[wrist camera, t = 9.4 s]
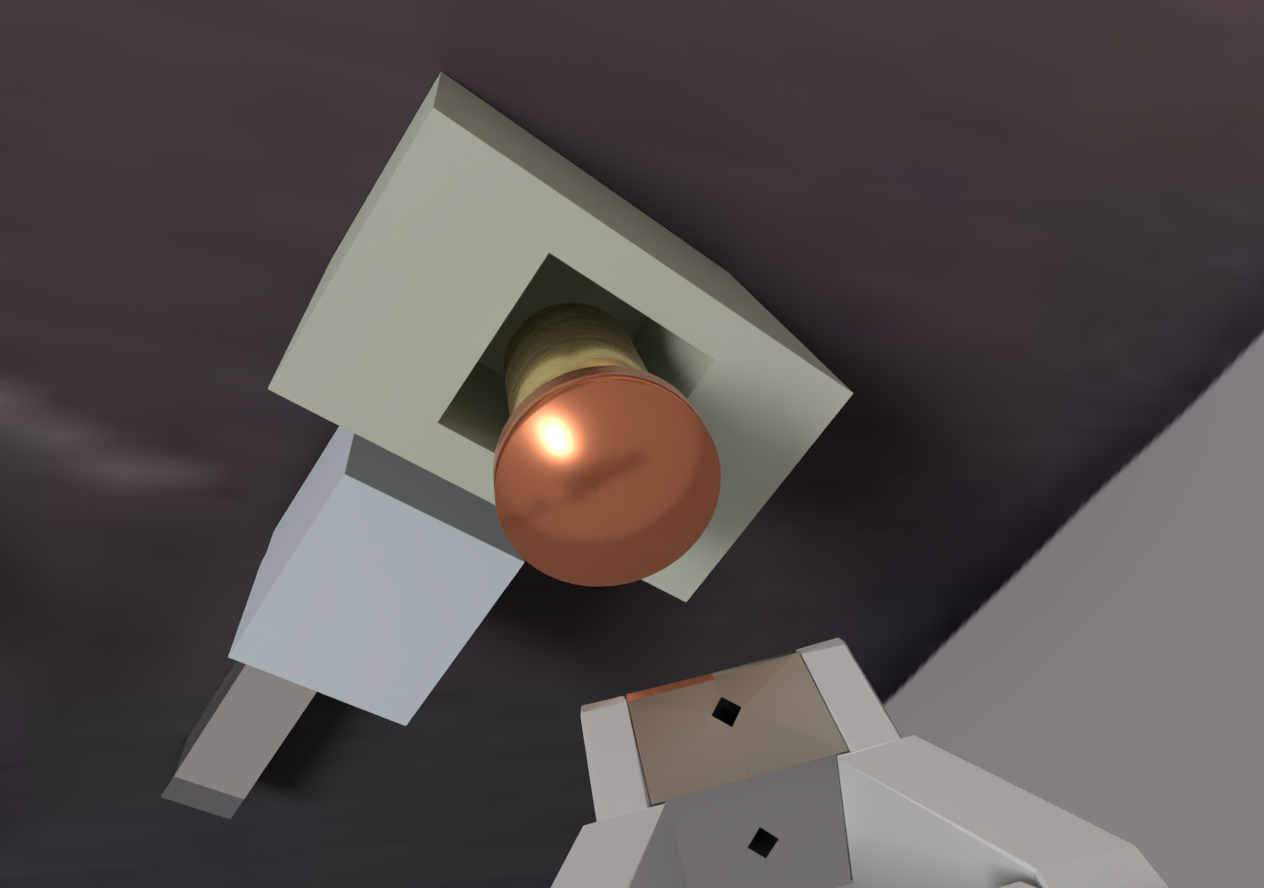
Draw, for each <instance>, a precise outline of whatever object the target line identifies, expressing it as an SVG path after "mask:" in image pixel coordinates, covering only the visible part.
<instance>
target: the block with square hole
mask: <svg viewBox="0 0 1264 888" xmlns="http://www.w3.org/2000/svg"><path fill="white" fill-rule="evenodd" d="M561 303H583V304H587V305H592V306H594V307H597V308H600V309H602V310H603V311H605V312H607V313H608V314H610V315H611V316H613V317H614V318H615V319H616V320H617V321H618V322H619V323H620V324H621V325H622V326H623V328H624V329H625V330H626V332H627V334H628V336H629V337H630V339H631V341H632V343H633V345H634V347H635V349H636V350H637V352H638V354H639V356H640V358H641V360H642V362H643V364H644V366H645V367H646V369H647V371H648V373H651V374H653V375H655V376H657V377H659V378H661V379H663V380H665V381H667V382H668V383H669V384H671V385H672V386H674V387H675V388H676V389H678V390H679V391H680V392H681V393H682V394H683V395H684V396H685V397H686V398H687V399H688V401H689V402H690V403H691V405H692V406H693V407H694V408H695V410H696V412H697V413H698V415H699V417H700V418H701V420H702V422H703V423H704V425H705V427H706V428H707V430H708V432H709V434H710V436H711V437H712V439H713V441H714V444H715V447H716V449H717V452H718V457H719V461H720V468H721V486H720V493H719V498H718V502H717V506H716V508H715V511H714V514H713V516H712V518H711V520H710V522H709V524H708V526H707V528H706V529H705V531H704V532H703V534H702V535H701V536H700V538H699V539H698V540H697V542H696V543H695V544H694V545H693V546H692V547H691V548H690V549H689V550H688V551H687V552H686V553H685V554H684V555H683V556H682V557H680V558H679V559H678V560H677V561H675V562H674V563H672V564H671V565H669V566H668V567H666V568H665V569H663V570H661V571H659V572H657V573H655V574H653V575H651V576H648V577H646V578H644V579H641V580H643V581H645V582H647V583H649V584H651V585H653V586H655V587H657V588H659V589H661V590H663V591H665V592H667V593H669V594H671V595H673V596H675V597H677V598H679V599H681V600H683V601H685V602H687V601H688V599H689V598H690V597H691V596H692V594H693V593H694V592H695V591H696V589H697V588H698V587H699V586H700V584H701V583H702V582H703V581H704V579H705V578H706V577H707V576H708V574H709V573H710V572H711V571H712V569H713V568H714V567H715V566H716V564H717V563H718V562H719V561H720V559H721V558H722V557H723V556H724V554H725V553H726V552H727V551H728V549H729V548H730V547H731V546H732V544H733V543H734V542H735V541H736V539H737V538H738V537H739V536H740V534H741V533H742V532H743V531H744V529H745V528H746V527H747V526H748V524H749V523H750V522H751V521H752V519H753V518H754V517H755V516H756V514H757V513H758V512H759V511H760V509H761V508H762V507H763V506H764V504H765V503H766V502H767V501H768V499H769V498H770V497H771V496H772V494H773V493H774V492H775V491H776V489H777V488H778V487H779V486H780V484H781V483H782V482H783V481H784V479H785V478H786V477H787V476H788V474H789V473H790V472H791V471H792V469H793V468H794V467H795V466H796V464H797V463H798V462H799V461H800V459H801V458H802V457H803V456H804V454H805V453H806V452H807V451H808V449H809V448H810V447H811V446H812V444H813V443H814V442H815V441H816V439H817V438H818V437H819V436H820V434H821V433H822V432H823V431H824V429H825V428H826V427H827V426H828V424H829V423H830V422H831V421H832V419H833V418H834V417H835V416H836V414H837V413H838V412H839V411H840V409H841V408H842V407H843V406H844V404H845V403H846V402H847V401H848V399H849V398H850V397H851V396H852V394H853V392H852V391H850V390H849V389H848V388H847V387H846V386H845V385H844V384H843V383H842V382H841V381H840V380H839V379H838V378H837V377H836V376H835V375H834V374H833V373H832V372H831V371H830V370H829V369H828V368H827V367H826V366H825V365H824V364H822V363H821V362H820V361H819V360H818V359H817V358H816V357H815V356H814V355H813V354H812V353H811V352H810V351H809V350H808V349H807V348H806V347H805V346H804V345H803V344H802V343H801V342H800V341H799V340H798V339H797V338H796V337H795V336H793V335H792V334H791V333H790V332H789V331H788V330H787V329H786V328H785V327H784V326H783V325H782V324H781V323H780V322H779V321H778V320H777V319H776V318H775V317H774V316H773V315H772V314H771V313H770V312H769V311H768V310H767V309H766V308H764V307H763V306H762V305H761V304H760V303H759V302H758V301H757V300H756V299H755V298H754V297H753V296H752V295H751V294H750V293H749V292H748V291H747V290H746V289H745V288H744V287H743V286H742V285H741V284H740V283H739V282H738V281H736V280H735V279H734V278H733V277H732V276H731V275H730V274H729V273H728V272H727V271H726V270H724V269H723V268H721V267H720V266H719V265H717V264H716V263H714V262H713V261H711V260H710V259H709V258H707V257H706V256H704V255H703V254H701V253H700V252H699V251H697V250H696V249H694V248H693V247H691V246H690V245H689V244H687V243H686V242H684V241H683V240H681V239H680V238H679V237H677V236H676V235H674V234H673V233H671V232H670V231H669V230H667V229H666V228H664V227H663V226H661V225H660V224H658V223H657V222H656V221H654V220H653V219H651V218H650V217H648V216H647V215H646V214H644V213H643V212H641V211H640V210H638V209H637V208H636V207H634V206H633V205H631V204H630V203H628V202H627V201H626V200H624V199H623V198H621V197H620V196H618V195H617V194H616V193H614V192H613V191H611V190H610V189H608V188H607V187H606V186H604V185H603V184H601V183H600V182H598V181H597V180H596V179H594V178H593V177H591V176H590V175H588V174H587V173H586V172H584V171H583V170H581V169H580V168H578V167H577V166H576V165H574V164H573V163H571V162H570V161H568V160H567V159H566V158H564V157H563V156H561V155H560V154H558V153H557V152H556V151H554V150H553V149H551V148H550V147H548V146H547V145H546V144H544V143H543V142H541V141H540V140H538V139H537V138H536V137H534V136H533V135H531V134H530V133H528V132H527V131H526V130H524V129H523V128H521V127H520V126H518V125H517V124H516V123H514V122H513V121H511V120H510V119H508V118H507V117H506V116H504V115H503V114H501V113H500V112H498V111H497V110H496V109H494V108H493V107H491V106H490V105H488V104H487V103H486V102H484V101H483V100H481V99H480V98H478V97H477V96H476V95H474V94H473V93H471V92H470V91H468V90H467V89H466V88H464V87H463V86H461V85H460V84H458V83H457V82H455V81H454V80H453V79H451V78H450V77H448V76H447V75H445V74H444V73H443V72H440V74H439V76H438V78H437V79H436V81H435V83H434V84H433V86H432V88H431V90H430V91H429V93H428V95H427V96H426V98H425V100H424V102H423V103H422V105H421V107H420V108H419V110H418V112H417V114H416V115H415V117H414V119H413V120H412V122H411V124H410V126H409V127H408V129H407V131H406V132H405V134H404V136H403V138H402V139H401V141H400V143H399V144H398V146H397V148H396V150H395V151H394V153H393V155H392V156H391V158H390V160H389V162H388V163H387V165H386V167H385V168H384V170H383V172H382V174H381V175H380V177H379V179H378V180H377V182H376V184H375V185H374V187H373V189H372V191H371V192H370V194H369V196H368V197H367V199H366V201H365V203H364V204H363V206H362V208H361V209H360V211H359V213H358V215H357V216H356V218H355V220H354V221H353V223H352V225H351V227H350V228H349V230H348V232H347V233H346V235H345V237H344V239H343V240H342V242H341V244H340V245H339V247H338V249H337V251H336V252H335V254H334V256H333V257H332V259H331V261H330V263H329V265H328V267H327V269H326V271H325V273H324V275H323V278H322V280H321V282H320V284H319V286H318V288H317V290H316V292H315V294H314V296H313V298H312V300H311V302H310V304H309V306H308V308H307V310H306V312H305V314H304V316H303V318H302V320H301V322H300V324H299V326H298V328H297V330H296V332H295V334H294V336H293V338H292V340H291V342H290V344H289V346H288V348H287V351H286V353H285V355H284V357H283V359H282V361H281V363H280V365H279V367H278V369H277V371H276V373H275V375H274V377H273V379H272V381H271V383H270V385H269V387H268V389H269V390H271V391H273V392H274V393H276V394H278V395H280V396H282V397H284V398H286V399H288V400H290V401H292V402H294V403H296V404H298V405H300V406H302V407H304V408H306V409H308V410H310V411H312V412H314V413H316V414H318V415H320V416H322V417H324V418H326V419H327V420H329V421H331V422H333V423H335V424H337V425H339V426H341V427H343V428H345V429H347V430H349V431H351V432H353V433H355V434H357V435H359V436H361V437H363V438H365V439H367V440H369V441H371V442H373V443H375V444H377V445H378V446H380V447H382V448H384V449H386V450H388V451H390V452H392V453H394V454H396V455H398V456H400V457H402V458H404V459H406V460H408V461H410V462H412V463H414V464H416V465H418V466H420V467H422V468H424V469H426V470H428V471H430V472H431V473H433V474H435V475H437V476H439V477H441V478H443V479H445V480H447V481H449V482H451V483H453V484H455V485H457V486H459V487H461V488H463V489H465V490H467V491H469V492H471V493H473V494H475V495H477V496H479V497H481V498H482V499H484V500H486V501H488V502H490V503H492V504H494V505H495V493H494V481H493V461H494V453H495V449H496V445H497V442H498V439H499V437H500V434H501V432H502V429H503V427H504V426H505V424H506V422H507V421H508V419H509V417H510V414H509V406H508V399H507V391H506V384H505V377H504V358H505V353H506V349H507V346H508V344H509V341H510V339H511V338H512V336H513V334H514V333H515V331H516V330H517V329H518V327H519V326H520V325H521V324H522V323H523V322H524V321H525V320H526V319H527V318H529V317H530V316H531V315H533V314H534V313H536V312H538V311H540V310H542V309H544V308H546V307H549V306H552V305H556V304H561Z"/></svg>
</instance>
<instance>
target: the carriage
mask: <svg viewBox="0 0 1264 888" xmlns="http://www.w3.org/2000/svg"><path fill="white" fill-rule="evenodd" d="M524 562H525V560H524V559H523V557H522V556H521V555H520V554H519V553H518V552H517V551H516V550H515V549H514V548H513V546H512V545H511V543H510V542H509V541H508V539H507V537H506V535H505V533H504V531H503V530H502V527H501V524H500V521H499V519H498V515H497V510H496V505H494V504H492V503H490V502H488V501H486V500H484V499H482V498H481V497H479V496H477V495H475V494H473V493H471V492H469V491H467V490H465V489H463V488H461V487H459V486H457V485H455V484H453V483H451V482H449V481H447V480H445V479H443V478H441V477H439V476H437V475H435V474H433V473H431V472H430V471H428V470H426V469H424V468H422V467H420V466H418V465H416V464H414V463H412V462H410V461H408V460H406V459H404V458H402V457H400V456H398V455H396V454H394V453H392V452H390V451H388V450H386V449H384V448H382V447H380V446H378V445H377V444H375V443H373V442H371V441H369V440H367V439H365V438H363V437H361V436H359V435H357V434H355V433H353V432H351V431H349V430H347V429H345V428H343V427H341V426H339V427H338V429H337V431H336V432H335V434H334V435H333V437H332V439H331V440H330V442H329V443H328V445H327V447H326V448H325V450H324V451H323V453H322V455H321V456H320V458H319V460H318V461H317V463H316V464H315V466H314V468H313V469H312V471H311V472H310V474H309V476H308V477H307V479H306V480H305V482H304V484H303V485H302V487H301V488H300V490H299V492H298V493H297V495H296V496H295V498H294V500H293V501H292V503H291V505H290V506H289V508H288V509H287V511H286V513H285V514H284V516H283V517H282V519H281V521H280V522H279V524H278V525H277V527H276V529H275V530H274V533H273V535H272V538H271V541H270V544H269V547H268V550H267V553H266V555H265V557H264V558H263V560H262V562H261V565H260V568H259V570H258V573H257V576H256V579H255V582H254V585H253V588H252V590H251V593H250V596H249V599H248V602H247V605H246V608H245V610H244V613H243V616H242V619H241V622H240V625H239V628H238V630H237V633H236V636H235V639H234V642H233V645H232V648H231V650H230V653H229V656H228V657H229V658H231V659H234V660H237V661H239V662H242V663H244V664H247V665H249V666H252V667H255V668H257V669H260V670H262V671H265V672H268V673H270V674H273V675H275V676H278V677H280V678H283V679H286V680H288V681H291V682H293V683H296V684H299V685H301V686H304V687H306V688H309V689H311V690H314V691H317V692H319V693H322V694H324V695H327V696H330V697H332V698H335V699H337V700H340V701H343V702H345V703H348V704H350V705H353V706H355V707H358V708H361V709H363V710H366V711H368V712H371V713H374V714H376V715H379V716H381V717H384V718H386V719H389V720H392V721H394V722H397V723H399V724H402V725H405V726H406V725H407V724H408V722H409V721H410V720H411V718H412V717H413V715H414V714H415V713H416V711H417V710H418V709H419V707H420V706H421V704H422V703H423V702H424V700H425V699H426V698H427V696H428V695H429V693H430V692H431V691H432V689H433V688H434V686H435V685H436V684H437V682H438V681H439V680H440V678H441V677H442V675H443V674H444V673H445V671H446V670H447V669H448V667H449V666H450V664H451V663H452V662H453V660H454V659H455V658H456V656H457V655H458V653H459V652H460V651H461V649H462V648H463V647H464V645H465V644H466V642H467V641H468V640H469V638H470V637H471V635H472V634H473V633H474V631H475V630H476V629H477V627H478V626H479V624H480V623H481V622H482V620H483V619H484V618H485V616H486V615H487V613H488V612H489V611H490V609H491V608H492V607H493V605H494V604H495V602H496V601H497V600H498V598H499V597H500V596H501V594H502V593H503V591H504V590H505V589H506V587H507V586H508V585H509V583H510V582H511V580H512V579H513V578H514V576H515V575H516V573H517V572H518V571H519V569H520V568H521V567H522V565H523V564H524Z"/></svg>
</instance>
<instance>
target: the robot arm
mask: <svg viewBox="0 0 1264 888" xmlns="http://www.w3.org/2000/svg"><path fill="white" fill-rule="evenodd" d="M626 696H627V700H626V697H625V696H621V697H617V698H613V699H609V700H605V701H601V702H596V703H592V704H588V705H584V706H582V707H581V722H582V728H583V735H584V741H585V748H586V754H587V761H588V767H589V774H590V780H591V787H592V794H593V800H594V807H595V813H596V820H597V822H595V823H591V824H588V825H585V826H583V828H582V829H581V831H580V833H579V835H578V837H577V839H576V841H575V843H574V845H573V846H572V848H571V850H570V852H569V854H568V856H567V858H566V860H565V862H564V863H563V865H562V867H561V869H560V871H559V873H558V875H557V877H556V879H555V881H554V882H553V884H552V886H551V888H834V887H838V886H842V885H846V884H850V883H853V884H854V887H855V888H1168V886H1167V885H1166V884H1165V883H1164V881H1163V880H1162V879H1161V878H1160V876H1159V875H1158V874H1157V873H1156V871H1155V870H1154V869H1153V867H1152V866H1151V865H1150V864H1149V863H1148V861H1147V860H1146V859H1145V857H1144V856H1143V855H1142V854H1141V852H1140V851H1139V850H1138V849H1137V847H1136V846H1135V845H1133V844H1131V843H1129V842H1127V841H1125V840H1123V839H1121V838H1119V837H1117V836H1115V835H1113V834H1111V833H1109V832H1107V831H1105V830H1103V829H1101V828H1099V827H1097V826H1095V825H1093V824H1091V823H1089V822H1087V821H1085V820H1083V819H1081V818H1079V817H1077V816H1075V815H1073V814H1072V813H1070V812H1067V811H1066V810H1064V809H1062V808H1060V807H1058V806H1056V805H1054V804H1052V803H1050V802H1048V801H1046V800H1044V799H1042V798H1040V797H1038V796H1036V795H1034V794H1032V793H1030V792H1028V791H1026V790H1024V789H1022V788H1020V787H1018V786H1016V785H1014V784H1012V783H1010V782H1008V781H1006V780H1004V779H1002V778H1000V777H998V776H996V775H994V774H992V773H990V772H988V771H987V770H984V769H983V768H981V767H979V766H977V765H975V764H973V763H970V762H969V761H967V760H965V759H962V758H961V757H959V756H957V755H955V754H953V753H951V752H949V751H947V750H945V749H943V748H941V747H939V746H937V745H935V744H933V743H931V742H929V741H927V740H925V739H923V738H921V737H919V736H917V735H913V736H909V737H906V738H902V736H901V735H900V733H899V731H898V730H897V728H896V726H895V725H894V723H893V721H892V720H891V718H890V716H889V715H888V713H887V711H886V710H885V708H884V706H883V705H882V703H881V701H880V700H879V698H878V696H877V695H876V693H875V691H874V690H873V688H872V686H871V685H870V683H869V681H868V680H867V678H866V676H865V675H864V673H863V671H862V670H861V668H860V666H859V665H858V663H857V661H856V660H855V658H854V656H853V655H852V653H851V651H850V650H849V648H848V646H847V645H846V643H845V642H844V641H842V640H841V639H839V638H835V639H832V640H828V641H825V642H821V643H818V644H814V645H811V646H808V647H804V648H801V649H797V650H796V652H794V651H793V652H789V653H785V654H782V655H778V656H774V657H771V658H767V659H764V660H760V661H756V662H753V663H749V664H745V665H742V666H738V667H734V668H731V669H727V670H723V671H720V672H716V673H712V674H709V675H705V676H700V677H696V678H692V679H688V680H684V681H680V682H676V683H671V684H667V685H663V686H659V687H655V688H651V689H647V690H642V691H638V692H634V693H630V694H626ZM627 701H628V703H627ZM628 705H629V707H628Z"/></svg>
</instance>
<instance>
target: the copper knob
mask: <svg viewBox="0 0 1264 888" xmlns="http://www.w3.org/2000/svg"><path fill="white" fill-rule="evenodd" d="M504 377H505V384H506V391H507V399H508V406H509V414H510V417H509V419H508V421H507V422H506V424H505V426H504V427H503V429H502V432H501V434H500V437H499V439H498V442H497V445H496V449H495V453H494V461H493V481H494V493H495V505H496V510H497V515H498V519H499V521H500V524H501V527H502V530H503V531H504V533H505V535H506V537H507V539H508V541H509V542H510V543H511V545H512V546H513V548H514V549H515V550H516V551H517V552H518V553H519V554H520V555H521V556H522V557H523V559H524V560H525V561H527V562H528V563H529V564H531V565H532V566H533V567H535V568H536V569H538V570H539V571H541V572H543V573H545V574H546V575H548V576H551V577H553V578H556V579H558V580H561V581H564V582H568V583H572V584H577V585H583V586H598V587H603V586H616V585H621V584H626V583H631V582H634V581H637V580H641V579H644V578H646V577H648V576H651V575H653V574H655V573H657V572H659V571H661V570H663V569H665V568H666V567H668V566H669V565H671V564H672V563H674V562H675V561H677V560H678V559H679V558H680V557H682V556H683V555H684V554H685V553H686V552H687V551H688V550H689V549H690V548H691V547H692V546H693V545H694V544H695V543H696V542H697V540H698V539H699V538H700V536H701V535H702V534H703V532H704V531H705V529H706V528H707V526H708V524H709V522H710V520H711V518H712V516H713V514H714V511H715V508H716V506H717V502H718V498H719V493H720V486H721V468H720V461H719V457H718V452H717V449H716V447H715V444H714V441H713V439H712V437H711V436H710V434H709V432H708V430H707V428H706V427H705V425H704V423H703V422H702V420H701V418H700V417H699V415H698V413H697V412H696V410H695V408H694V407H693V406H692V405H691V403H690V402H689V401H688V399H687V398H686V397H685V396H684V395H683V394H682V393H681V392H680V391H679V390H678V389H676V388H675V387H674V386H672V385H671V384H669V383H668V382H667V381H665V380H663V379H661V378H659V377H657V376H655V375H653V374H651V373H648V371H647V369H646V367H645V366H644V364H643V362H642V360H641V358H640V356H639V354H638V352H637V350H636V349H635V347H634V345H633V343H632V341H631V339H630V337H629V336H628V334H627V332H626V330H625V329H624V328H623V326H622V325H621V324H620V323H619V322H618V321H617V320H616V319H615V318H614V317H613V316H611V315H610V314H608V313H607V312H605V311H603V310H602V309H600V308H597V307H594V306H592V305H587V304H583V303H561V304H556V305H552V306H549V307H546V308H544V309H542V310H540V311H538V312H536V313H534V314H533V315H531V316H530V317H529V318H527V319H526V320H525V321H524V322H523V323H522V324H521V325H520V326H519V327H518V329H517V330H516V331H515V333H514V334H513V336H512V338H511V339H510V341H509V344H508V346H507V349H506V353H505V358H504Z"/></svg>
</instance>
